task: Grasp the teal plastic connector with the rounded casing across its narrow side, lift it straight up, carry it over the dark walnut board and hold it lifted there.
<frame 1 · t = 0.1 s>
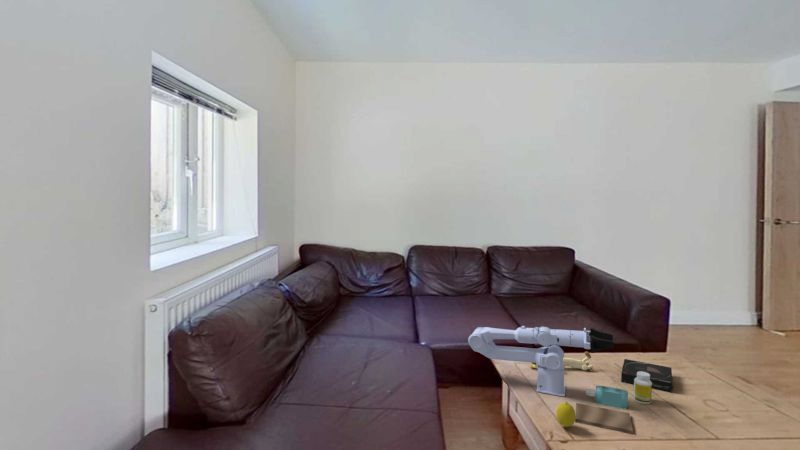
hand: (613, 341, 141), 22 cm above the table, tool horizontal, fingers open, 7 cm apart
supplement bottle: (642, 401, 143), on the table
portable cd player: (646, 380, 160), on the table
serving board: (602, 418, 131), on the table
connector: (611, 403, 141), on the table
lemon: (565, 427, 127), on the table
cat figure: (559, 369, 170), on the table
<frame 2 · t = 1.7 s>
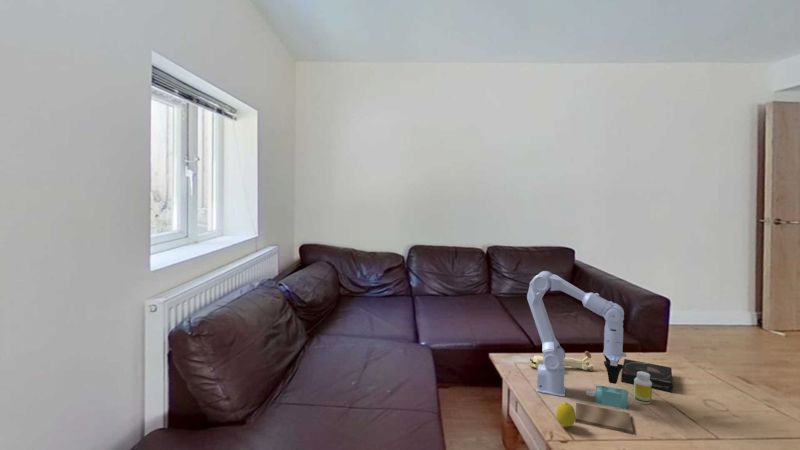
hand: (612, 378, 140), 9 cm above the table, tool pointing down, fingers open, 7 cm apart
nothing on the table moved.
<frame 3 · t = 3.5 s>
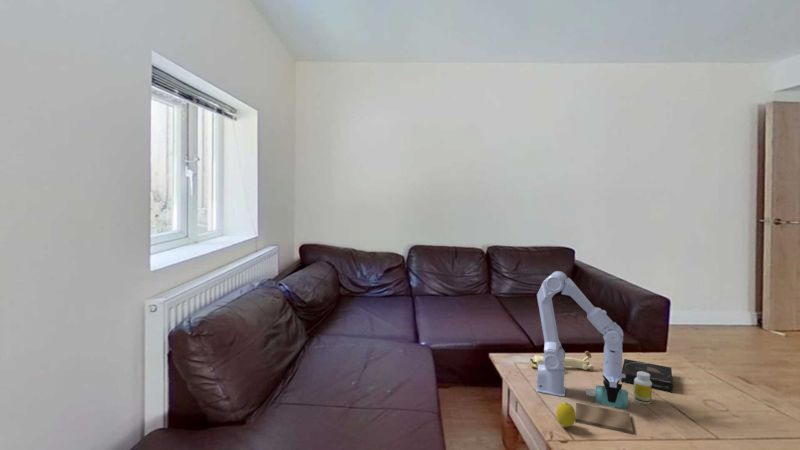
hand: (611, 398, 141), 2 cm above the table, tool pointing down, fingers closed on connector, 4 cm apart
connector: (611, 403, 141), on the table, touching gripper
everything else where it was.
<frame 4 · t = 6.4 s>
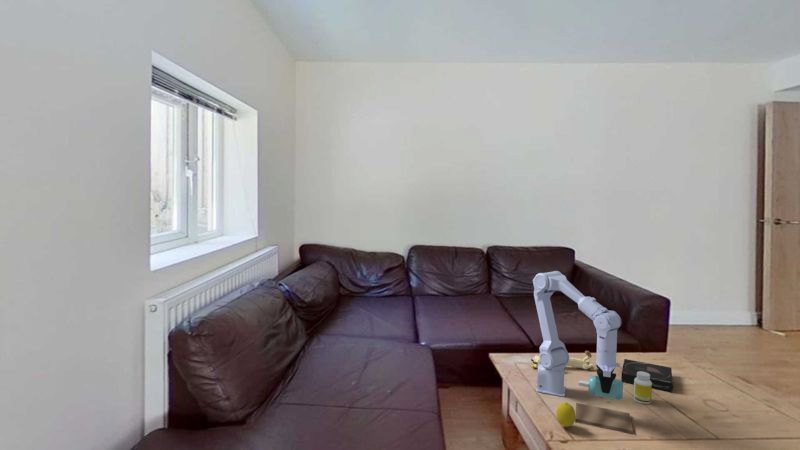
hand: (605, 389, 133), 9 cm above the table, tool pointing down, fingers closed on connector, 4 cm apart
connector: (605, 394, 133), point 7 cm above the table, touching gripper
everything else where it was.
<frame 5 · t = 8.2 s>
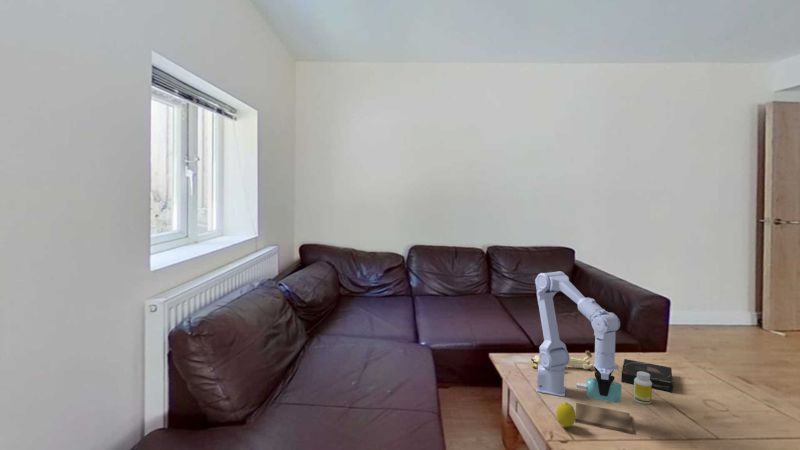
hand: (603, 392, 131), 9 cm above the table, tool pointing down, fingers closed on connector, 4 cm apart
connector: (603, 397, 131), point 7 cm above the table, touching gripper
everything else where it was.
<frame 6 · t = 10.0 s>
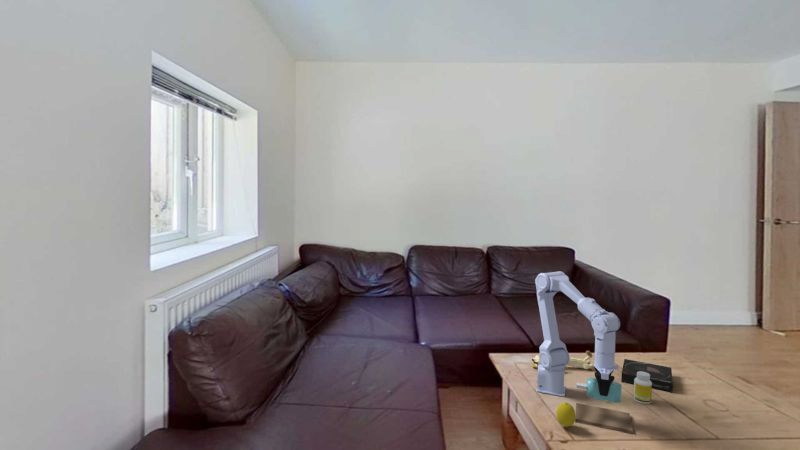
hand: (603, 392, 131), 9 cm above the table, tool pointing down, fingers closed on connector, 4 cm apart
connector: (603, 397, 131), point 7 cm above the table, touching gripper
at the end: the gripper is holding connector; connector point 7.2 cm above the table; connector 0.0 cm from the serving board (horizontally) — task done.
